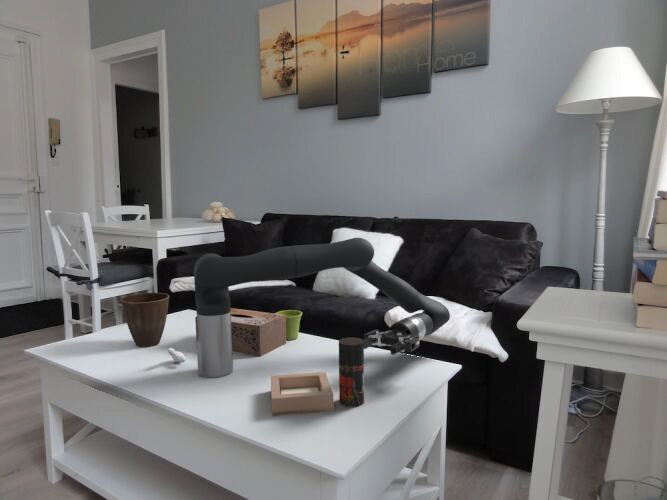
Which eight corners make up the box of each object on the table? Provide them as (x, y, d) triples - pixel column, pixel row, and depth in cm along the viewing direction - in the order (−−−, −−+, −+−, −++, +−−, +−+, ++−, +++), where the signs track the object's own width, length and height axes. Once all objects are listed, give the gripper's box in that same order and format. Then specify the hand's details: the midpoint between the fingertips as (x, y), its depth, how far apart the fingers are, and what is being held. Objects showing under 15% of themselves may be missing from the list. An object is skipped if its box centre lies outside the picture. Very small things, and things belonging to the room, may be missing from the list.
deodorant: (338, 397, 120) (337, 337, 118) (362, 396, 120) (361, 336, 119) (340, 407, 114) (339, 345, 112) (365, 406, 114) (365, 344, 113)
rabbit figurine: (190, 359, 149) (188, 355, 141) (182, 370, 147) (180, 367, 140) (173, 348, 149) (170, 344, 141) (165, 360, 147) (162, 356, 140)
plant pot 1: (181, 341, 166) (178, 295, 164) (143, 354, 154) (140, 304, 152) (152, 335, 174) (150, 291, 172) (114, 346, 162) (111, 299, 160)
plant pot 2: (298, 342, 163) (298, 317, 162) (271, 341, 165) (271, 316, 164) (305, 334, 172) (305, 310, 171) (280, 333, 174) (279, 309, 173)
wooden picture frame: (272, 415, 111) (271, 398, 110) (271, 390, 124) (270, 375, 124) (333, 410, 113) (333, 394, 112) (325, 386, 126) (325, 371, 126)
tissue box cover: (196, 346, 162) (195, 316, 160) (225, 334, 174) (224, 307, 173) (260, 357, 150) (259, 325, 149) (286, 344, 163) (285, 314, 161)
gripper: (385, 315, 142) (353, 329, 129) (430, 322, 133) (401, 338, 120) (385, 340, 143) (354, 357, 130) (430, 349, 134) (402, 367, 121)
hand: (377, 348), depth 125 cm, fingers open, 8 cm apart
